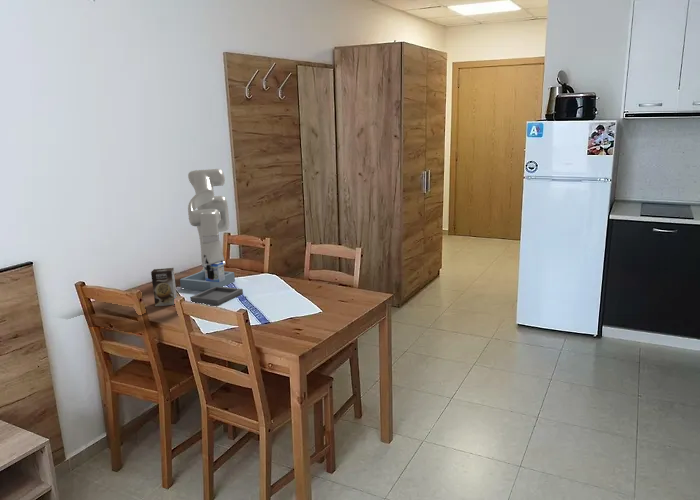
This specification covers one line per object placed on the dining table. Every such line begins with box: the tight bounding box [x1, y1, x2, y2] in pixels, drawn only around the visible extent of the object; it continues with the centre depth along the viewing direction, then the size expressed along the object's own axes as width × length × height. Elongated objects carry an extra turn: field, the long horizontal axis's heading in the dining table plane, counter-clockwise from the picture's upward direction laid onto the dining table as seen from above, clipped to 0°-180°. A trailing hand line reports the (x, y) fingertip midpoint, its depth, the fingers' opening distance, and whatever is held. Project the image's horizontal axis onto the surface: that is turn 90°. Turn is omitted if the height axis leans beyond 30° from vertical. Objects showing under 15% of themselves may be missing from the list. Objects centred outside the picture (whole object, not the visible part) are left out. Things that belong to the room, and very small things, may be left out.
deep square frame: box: [179, 270, 236, 292], centre depth 273 cm, size 19×19×5 cm
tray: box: [189, 286, 244, 307], centre depth 251 cm, size 18×16×2 cm
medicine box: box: [204, 262, 225, 282], centre depth 248 cm, size 8×4×9 cm, turn 68°
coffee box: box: [150, 267, 178, 307], centre depth 245 cm, size 9×6×16 cm
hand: (214, 276), depth 249 cm, fingers closed on medicine box, 4 cm apart
